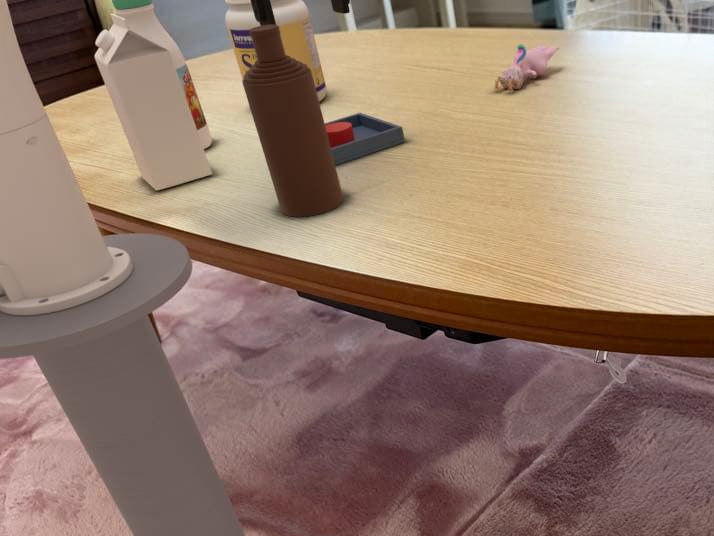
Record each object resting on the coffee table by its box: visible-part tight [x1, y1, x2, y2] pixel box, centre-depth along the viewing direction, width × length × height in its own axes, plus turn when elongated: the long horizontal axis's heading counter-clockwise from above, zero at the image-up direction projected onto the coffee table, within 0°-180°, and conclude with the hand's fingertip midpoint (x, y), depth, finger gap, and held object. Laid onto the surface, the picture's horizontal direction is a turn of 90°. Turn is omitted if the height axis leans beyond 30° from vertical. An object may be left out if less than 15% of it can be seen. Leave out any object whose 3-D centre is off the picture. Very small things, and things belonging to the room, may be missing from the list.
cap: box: [325, 122, 355, 148], centre depth 105 cm, size 4×4×2 cm
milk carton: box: [94, 13, 213, 191], centre depth 98 cm, size 7×7×19 cm
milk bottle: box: [111, 0, 213, 150], centre depth 107 cm, size 8×8×20 cm
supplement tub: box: [224, 0, 327, 103], centre depth 123 cm, size 12×12×17 cm
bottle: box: [241, 25, 344, 218], centre depth 85 cm, size 7×7×18 cm
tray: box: [324, 112, 406, 166], centre depth 106 cm, size 13×11×2 cm
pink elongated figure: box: [494, 43, 560, 93], centre depth 123 cm, size 6×6×15 cm
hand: (306, 19), depth 97 cm, fingers open, 9 cm apart
